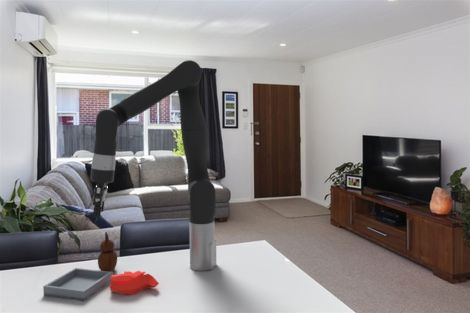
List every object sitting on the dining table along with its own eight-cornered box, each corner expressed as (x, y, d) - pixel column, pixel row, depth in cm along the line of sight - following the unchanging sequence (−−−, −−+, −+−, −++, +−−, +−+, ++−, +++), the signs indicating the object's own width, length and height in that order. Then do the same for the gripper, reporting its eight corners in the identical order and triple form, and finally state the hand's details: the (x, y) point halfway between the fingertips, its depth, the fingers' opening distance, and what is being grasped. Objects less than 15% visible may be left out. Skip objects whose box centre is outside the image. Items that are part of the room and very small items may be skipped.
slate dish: (112, 280, 119) (112, 271, 119) (84, 301, 105) (83, 291, 105) (75, 276, 123) (75, 267, 122) (43, 295, 109) (43, 286, 108)
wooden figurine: (110, 275, 123) (108, 233, 122) (95, 274, 124) (93, 232, 123) (120, 267, 130) (118, 228, 129) (106, 266, 131) (104, 227, 130)
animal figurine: (158, 296, 109) (158, 280, 108) (108, 299, 106) (107, 283, 106) (160, 279, 120) (160, 265, 120) (114, 282, 118) (114, 267, 117)
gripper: (112, 171, 113) (107, 220, 114) (116, 166, 127) (111, 210, 128) (88, 168, 111) (82, 218, 112) (94, 164, 125) (90, 209, 126)
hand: (98, 214), depth 120 cm, fingers open, 8 cm apart
